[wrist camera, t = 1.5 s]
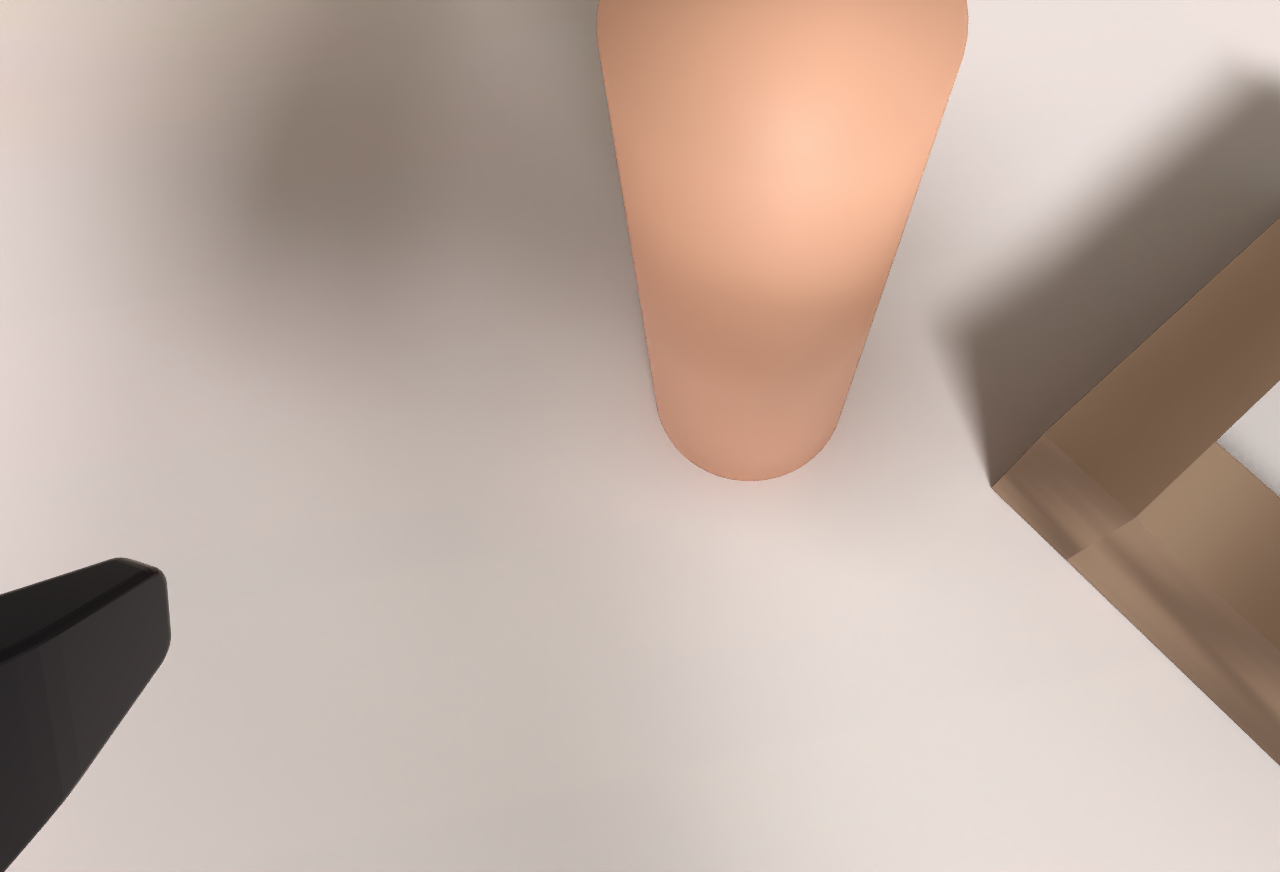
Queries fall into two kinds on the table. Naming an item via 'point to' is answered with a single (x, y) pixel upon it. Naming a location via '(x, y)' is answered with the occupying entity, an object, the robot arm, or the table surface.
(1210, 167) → the table surface
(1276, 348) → the socket
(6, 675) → the robot arm
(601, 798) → the table surface
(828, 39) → the peg
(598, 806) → the table surface
